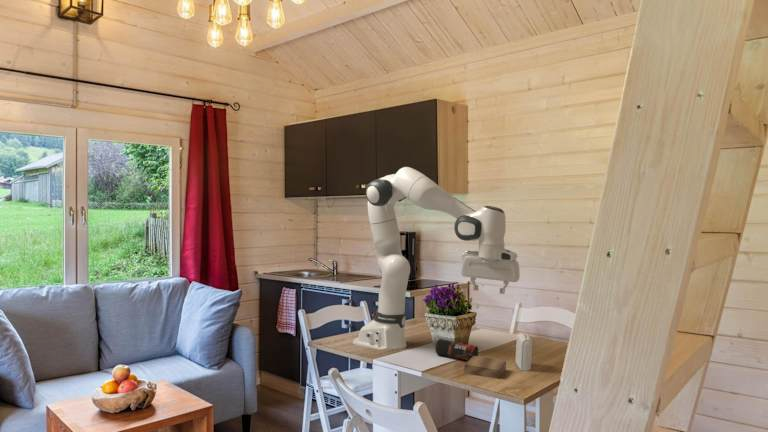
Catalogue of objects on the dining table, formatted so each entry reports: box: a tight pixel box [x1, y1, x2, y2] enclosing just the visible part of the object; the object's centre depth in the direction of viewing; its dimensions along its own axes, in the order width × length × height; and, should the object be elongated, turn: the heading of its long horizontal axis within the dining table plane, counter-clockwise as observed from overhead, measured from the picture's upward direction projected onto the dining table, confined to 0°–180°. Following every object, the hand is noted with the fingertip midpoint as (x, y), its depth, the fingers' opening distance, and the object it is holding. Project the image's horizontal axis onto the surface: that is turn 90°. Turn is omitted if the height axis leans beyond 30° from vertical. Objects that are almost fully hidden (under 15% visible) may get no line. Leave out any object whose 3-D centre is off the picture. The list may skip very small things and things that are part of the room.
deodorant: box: [435, 338, 479, 362], centre depth 221 cm, size 6×6×15 cm
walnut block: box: [463, 355, 507, 379], centre depth 206 cm, size 12×12×4 cm
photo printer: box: [514, 332, 533, 372], centre depth 214 cm, size 10×4×12 cm, turn 179°
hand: (488, 291), depth 204 cm, fingers open, 8 cm apart
